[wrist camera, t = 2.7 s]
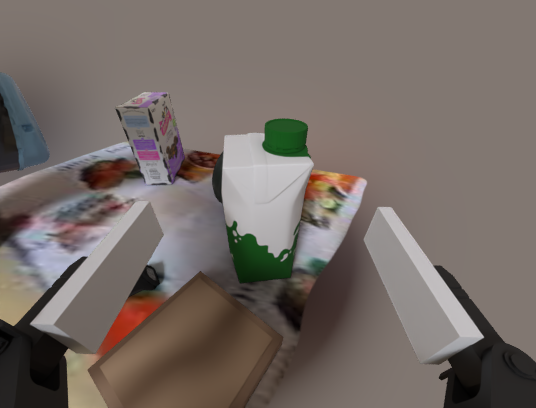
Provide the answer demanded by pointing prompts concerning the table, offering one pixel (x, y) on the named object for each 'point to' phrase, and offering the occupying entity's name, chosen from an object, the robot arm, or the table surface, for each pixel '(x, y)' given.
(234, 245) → the milk carton
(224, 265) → the table surface
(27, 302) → the table surface
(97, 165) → the table surface
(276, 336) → the board
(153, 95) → the candy box
